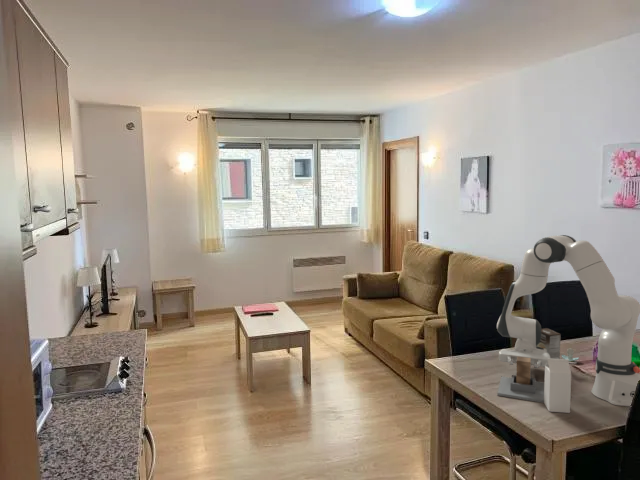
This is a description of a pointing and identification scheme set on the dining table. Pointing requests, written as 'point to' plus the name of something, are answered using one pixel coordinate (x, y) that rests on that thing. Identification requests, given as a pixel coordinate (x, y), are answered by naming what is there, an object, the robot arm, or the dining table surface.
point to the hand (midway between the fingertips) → (523, 364)
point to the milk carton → (557, 385)
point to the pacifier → (570, 356)
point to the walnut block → (523, 370)
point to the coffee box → (550, 342)
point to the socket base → (521, 389)
